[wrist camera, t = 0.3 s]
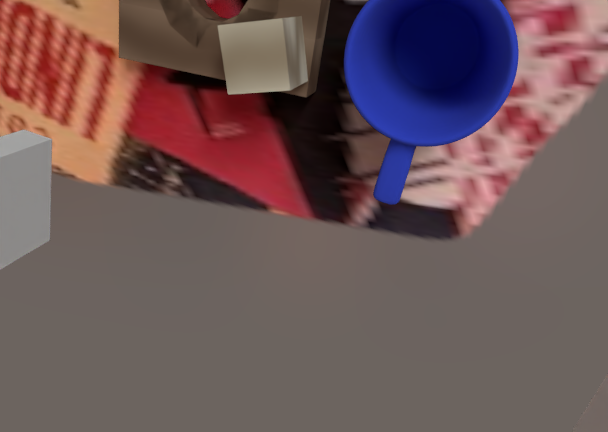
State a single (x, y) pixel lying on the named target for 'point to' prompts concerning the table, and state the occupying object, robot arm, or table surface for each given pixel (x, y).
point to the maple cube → (263, 55)
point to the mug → (427, 74)
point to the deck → (210, 33)
